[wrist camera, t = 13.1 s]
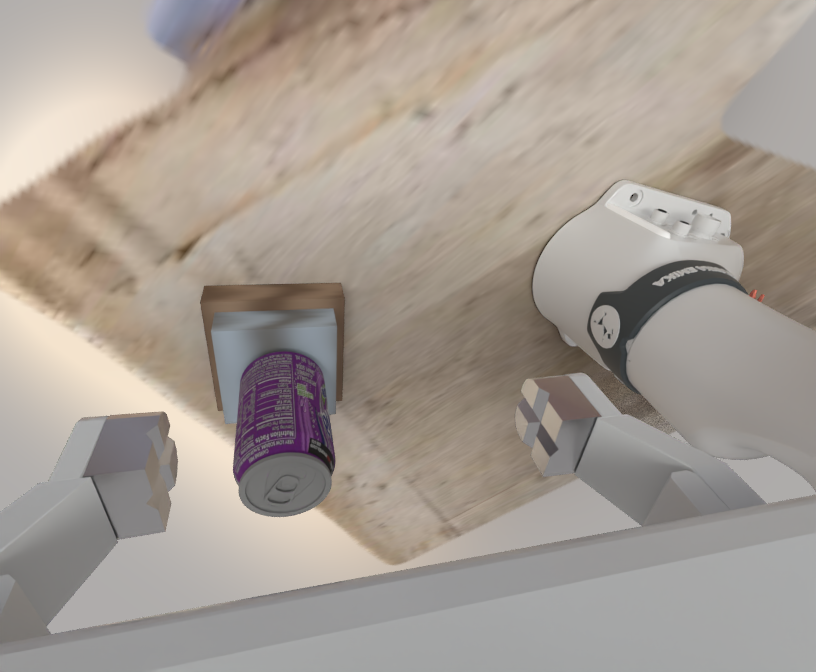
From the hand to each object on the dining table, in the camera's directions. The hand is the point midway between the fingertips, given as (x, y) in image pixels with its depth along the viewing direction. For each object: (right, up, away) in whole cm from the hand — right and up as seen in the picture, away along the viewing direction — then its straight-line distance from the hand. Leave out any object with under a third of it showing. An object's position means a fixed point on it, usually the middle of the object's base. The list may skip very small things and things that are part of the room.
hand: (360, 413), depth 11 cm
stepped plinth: (-12, +2, +36) cm, 38 cm away
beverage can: (-10, -2, +31) cm, 33 cm away
